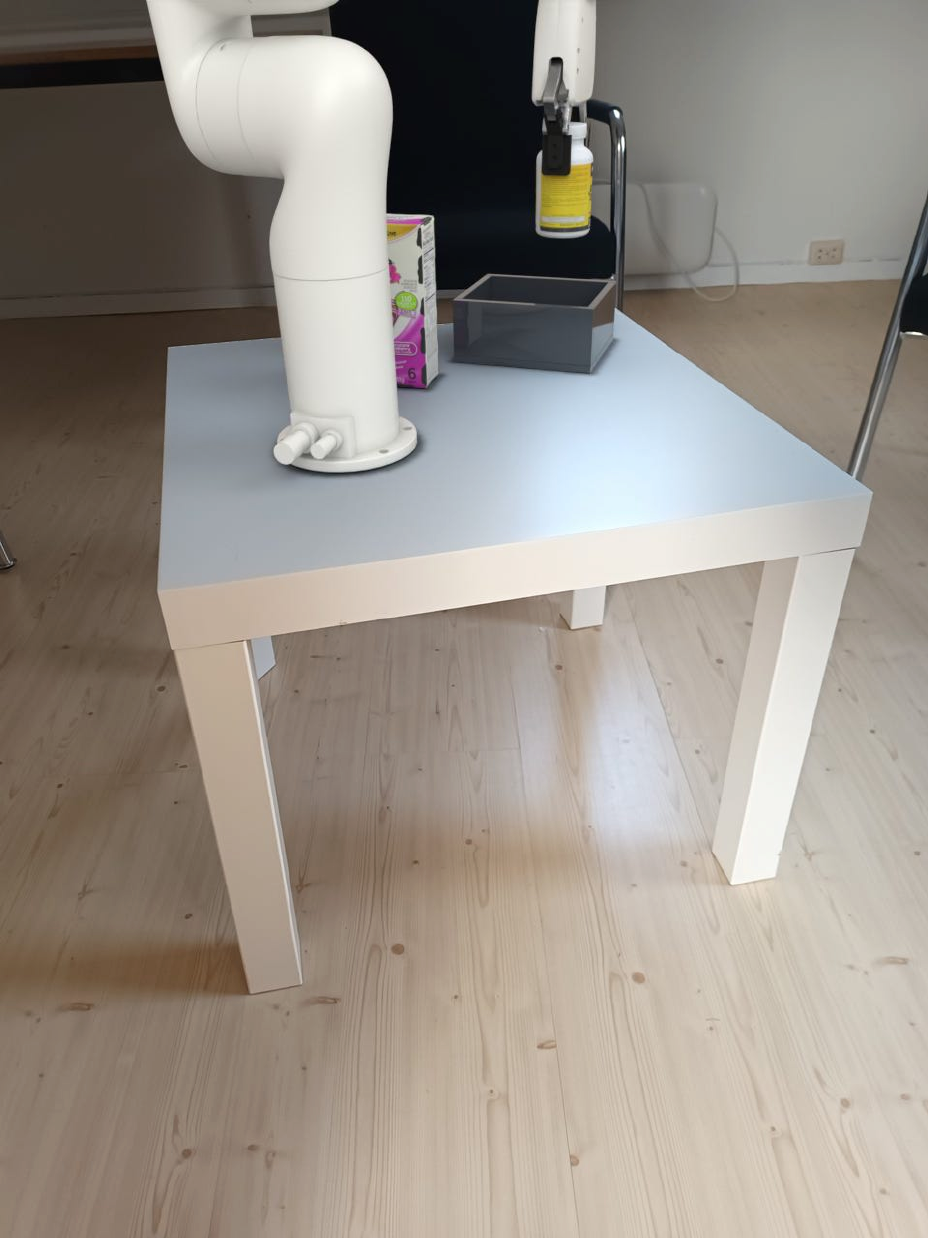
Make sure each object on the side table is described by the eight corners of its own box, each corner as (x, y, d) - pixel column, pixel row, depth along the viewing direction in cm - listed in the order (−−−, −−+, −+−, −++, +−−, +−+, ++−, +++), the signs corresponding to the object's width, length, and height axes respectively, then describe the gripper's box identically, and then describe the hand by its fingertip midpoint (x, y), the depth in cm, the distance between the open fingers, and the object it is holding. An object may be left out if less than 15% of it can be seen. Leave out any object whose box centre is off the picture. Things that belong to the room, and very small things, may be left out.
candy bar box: (327, 384, 99) (310, 219, 90) (344, 369, 103) (329, 210, 94) (428, 390, 96) (420, 221, 87) (441, 375, 100) (435, 212, 91)
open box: (590, 373, 100) (593, 309, 96) (454, 361, 104) (452, 299, 100) (612, 340, 110) (616, 280, 106) (487, 330, 114) (487, 273, 110)
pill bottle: (592, 239, 107) (598, 126, 100) (536, 240, 107) (538, 127, 101) (587, 228, 112) (592, 120, 106) (533, 229, 112) (535, 121, 106)
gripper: (555, -17, 104) (550, 159, 114) (511, -20, 90) (510, 180, 100) (621, -19, 102) (611, 160, 112) (587, -23, 88) (578, 182, 98)
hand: (563, 168), depth 106 cm, fingers closed on pill bottle, 6 cm apart
